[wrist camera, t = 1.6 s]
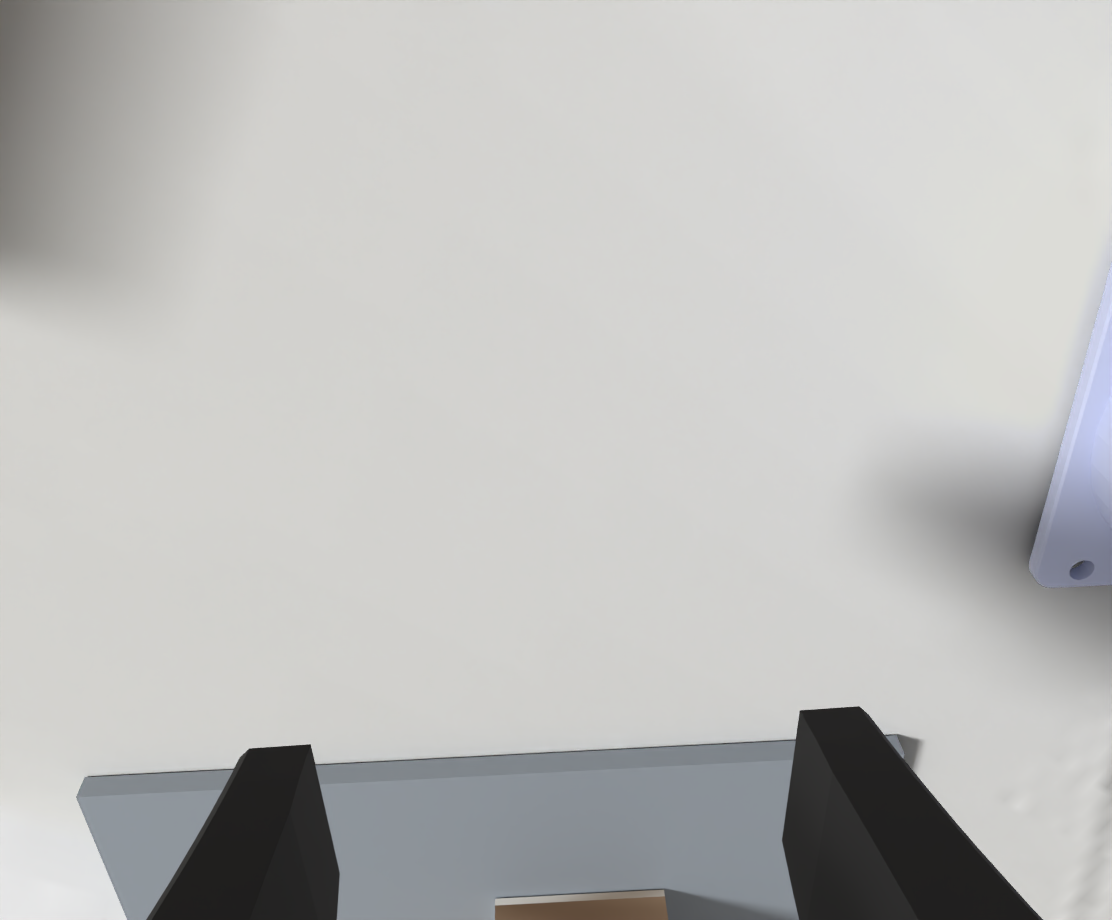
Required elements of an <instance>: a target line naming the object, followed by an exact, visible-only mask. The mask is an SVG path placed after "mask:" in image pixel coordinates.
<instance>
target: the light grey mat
mask: <svg viewBox="0 0 1112 920" xmlns="http://www.w3.org/2000/svg"><path fill="white" fill-rule="evenodd" d="M886 738H887V739H888V740H889V742H890V743H891V744H892V745H893V747H894V748H895V749H896V750H897V752H898V753H899V754H900V755H901V757H902V758H903V759H904V751H903V749H902V747H901V744H900V742H899V740H898V737H897V735H890V736H886ZM795 743H796V740H794V741H775V742H755V743H736V744H717V745H698V746H678V747H659V748H640V749H621V750H601V751H582V752H563V753H544V754H524V755H505V756H486V757H467V758H447V759H428V760H409V761H390V762H370V763H351V764H332V765H315V766H316V771H317V775H318V779H319V784H320V788H321V793H322V797H323V801H324V806H325V810H326V815H327V819H328V823H329V828H330V832H331V836H332V841H333V845H334V850H335V854H336V858H337V863H338V867H339V872H340V878H339V894H338V909H337V920H495V899H500V898H518V897H537V896H555V895H573V894H592V893H610V892H628V891H647V890H664V894H665V901H666V907H667V914H668V920H799V917H798V913H797V908H796V904H795V900H794V895H793V891H792V886H791V881H790V876H789V872H788V867H787V862H786V858H785V853H784V848H783V843H782V836H783V829H784V822H785V814H786V807H787V800H788V793H789V786H790V779H791V771H792V764H793V757H794V750H795ZM232 772H233V770H216V771H197V772H178V773H159V774H139V775H120V776H101V777H85V778H84V780H83V783H82V785H81V787H80V789H79V792H78V794H77V796H76V798H77V801H78V803H79V805H80V808H81V810H82V813H83V815H84V817H85V820H86V822H87V824H88V827H89V829H90V832H91V834H92V836H93V839H94V841H95V844H96V846H97V848H98V851H99V853H100V856H101V858H102V860H103V863H104V865H105V867H106V870H107V872H108V875H109V877H110V879H111V882H112V884H113V887H114V889H115V891H116V894H117V896H118V899H119V901H120V903H121V906H122V908H123V910H124V913H125V915H126V918H127V920H146V919H147V918H148V916H149V914H150V913H151V911H152V910H153V908H154V906H155V905H156V903H157V902H158V900H159V899H160V897H161V895H162V894H163V892H164V891H165V889H166V887H167V886H168V884H169V883H170V881H171V879H172V878H173V876H174V874H175V873H176V871H177V869H178V868H179V866H180V864H181V862H182V861H183V859H184V857H185V856H186V854H187V852H188V851H189V849H190V847H191V846H192V844H193V842H194V841H195V839H196V837H197V835H198V834H199V832H200V830H201V828H202V827H203V825H204V823H205V821H206V820H207V818H208V816H209V814H210V812H211V811H212V809H213V807H214V805H215V803H216V802H217V800H218V798H219V796H220V794H221V792H222V791H223V789H224V787H225V785H226V783H227V781H228V780H229V778H230V776H231V774H232Z"/></svg>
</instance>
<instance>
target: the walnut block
mask: <svg viewBox="0 0 1112 920" xmlns="http://www.w3.org/2000/svg"><path fill="white" fill-rule="evenodd" d="M495 920H668V914H667V907H666V901H665V894H664V890H647V891H628V892H610V893H592V894H573V895H555V896H537V897H518V898H500V899H495Z"/></svg>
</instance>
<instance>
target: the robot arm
mask: <svg viewBox="0 0 1112 920" xmlns="http://www.w3.org/2000/svg"><path fill="white" fill-rule="evenodd" d="M1080 561H1084V562H1083V563H1082V564H1080V565H1079V566H1078V567H1075V568H1072V566H1073V565H1075V564H1076V563H1078V562H1080ZM1029 570H1030V572H1031V574H1032V575H1033V577H1034V578H1035V580H1036V581H1037V583H1038V584H1040V585H1042V586H1043V587H1049V588H1062V587H1082V586H1103V585H1112V263H1111V267H1110V271H1109V274H1108V278H1107V282H1106V285H1105V289H1104V292H1103V296H1102V300H1101V303H1100V307H1099V311H1098V314H1097V318H1096V321H1095V325H1094V329H1093V332H1092V336H1091V340H1090V343H1089V347H1088V350H1087V354H1086V358H1085V361H1084V365H1083V369H1082V372H1081V376H1080V379H1079V383H1078V387H1077V390H1076V394H1075V398H1074V401H1073V405H1072V408H1071V412H1070V416H1069V419H1068V423H1067V427H1066V430H1065V434H1064V437H1063V441H1062V445H1061V448H1060V452H1059V456H1058V459H1057V463H1056V466H1055V470H1054V474H1053V477H1052V481H1051V485H1050V488H1049V492H1048V495H1047V499H1046V503H1045V506H1044V510H1043V514H1042V517H1041V521H1040V524H1039V528H1038V532H1037V535H1036V539H1035V543H1034V546H1033V550H1032V554H1031V557H1030V561H1029ZM782 843H783V848H784V853H785V858H786V862H787V867H788V872H789V876H790V881H791V886H792V891H793V895H794V900H795V904H796V908H797V913H798V917H799V920H1043V919H1042V918H1041V917H1040V916H1039V915H1038V914H1037V913H1036V912H1035V911H1034V910H1033V909H1032V908H1031V907H1030V906H1029V904H1028V903H1027V902H1026V901H1025V900H1024V899H1023V898H1022V897H1021V896H1020V894H1019V893H1018V892H1017V891H1016V890H1015V889H1014V888H1013V887H1012V886H1011V884H1010V883H1009V882H1008V881H1007V880H1006V879H1005V878H1004V877H1003V876H1002V874H1001V873H1000V872H999V871H998V870H997V869H996V868H995V867H994V866H993V864H992V863H991V862H990V861H989V860H988V859H987V858H986V857H985V855H984V854H983V853H982V852H981V851H980V850H979V849H978V848H977V847H976V845H975V844H974V843H973V842H972V841H971V840H970V838H969V837H968V836H967V835H966V834H965V833H964V831H963V830H962V829H961V828H960V827H959V826H958V825H957V823H956V822H955V821H954V820H953V819H952V817H951V816H950V815H949V814H948V813H947V811H946V810H945V809H944V808H943V807H942V805H941V804H940V803H939V802H938V801H937V799H936V798H935V797H934V796H933V795H932V793H931V792H930V791H929V790H928V789H927V788H926V786H925V785H924V784H923V783H922V781H921V780H920V779H919V778H918V776H917V775H916V774H915V773H914V772H913V770H912V769H911V768H910V767H909V765H908V764H907V763H906V762H905V760H904V759H903V758H902V757H901V755H900V754H899V753H898V752H897V750H896V749H895V748H894V747H893V745H892V744H891V743H890V742H889V740H888V739H887V738H886V736H885V735H884V734H883V733H882V731H881V730H880V729H879V728H878V726H877V725H876V724H875V722H874V721H873V720H872V719H871V717H870V716H869V715H868V714H867V713H866V712H865V711H864V710H863V709H862V708H860V707H845V708H830V709H816V710H801V711H800V714H799V721H798V728H797V736H796V743H795V750H794V757H793V764H792V771H791V779H790V786H789V793H788V800H787V807H786V814H785V822H784V829H783V836H782ZM339 878H340V872H339V867H338V863H337V858H336V854H335V850H334V845H333V841H332V836H331V832H330V828H329V823H328V819H327V815H326V810H325V806H324V801H323V797H322V793H321V788H320V784H319V779H318V775H317V771H316V766H315V762H314V757H313V753H312V749H311V744H310V745H295V746H281V747H267V748H252V749H249V750H247V751H246V752H245V753H244V754H243V755H242V756H241V757H240V759H239V760H238V762H237V764H236V766H235V768H234V770H233V772H232V774H231V776H230V778H229V780H228V781H227V783H226V785H225V787H224V789H223V791H222V792H221V794H220V796H219V798H218V800H217V802H216V803H215V805H214V807H213V809H212V811H211V812H210V814H209V816H208V818H207V820H206V821H205V823H204V825H203V827H202V828H201V830H200V832H199V834H198V835H197V837H196V839H195V841H194V842H193V844H192V846H191V847H190V849H189V851H188V852H187V854H186V856H185V857H184V859H183V861H182V862H181V864H180V866H179V868H178V869H177V871H176V873H175V874H174V876H173V878H172V879H171V881H170V883H169V884H168V886H167V887H166V889H165V891H164V892H163V894H162V895H161V897H160V899H159V900H158V902H157V903H156V905H155V906H154V908H153V910H152V911H151V913H150V914H149V916H148V918H147V919H146V920H337V909H338V894H339Z"/></svg>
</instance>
